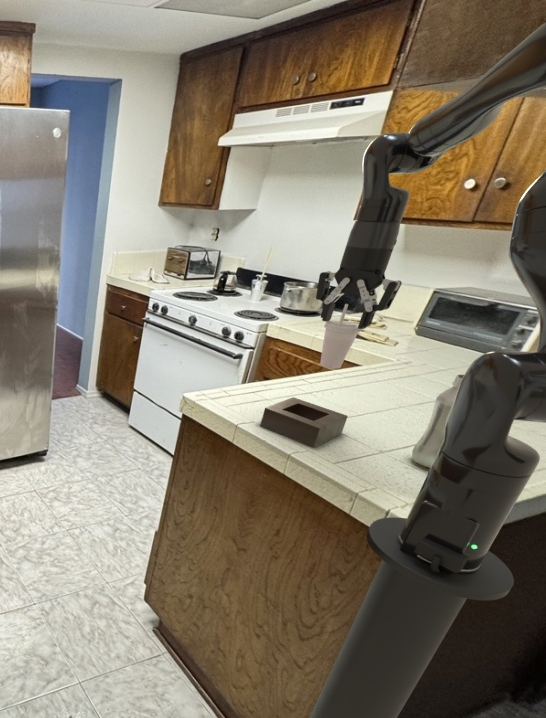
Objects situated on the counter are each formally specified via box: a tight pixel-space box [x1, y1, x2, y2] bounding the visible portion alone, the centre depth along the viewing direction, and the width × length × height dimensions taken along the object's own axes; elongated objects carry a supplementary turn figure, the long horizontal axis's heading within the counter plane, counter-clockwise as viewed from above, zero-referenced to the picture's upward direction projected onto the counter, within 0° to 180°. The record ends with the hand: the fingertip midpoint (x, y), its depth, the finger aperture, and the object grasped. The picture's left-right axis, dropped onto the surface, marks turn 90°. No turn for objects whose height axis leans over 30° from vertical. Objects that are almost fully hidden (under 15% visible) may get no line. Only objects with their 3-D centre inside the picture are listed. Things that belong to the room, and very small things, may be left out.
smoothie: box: [319, 303, 362, 370], centre depth 102 cm, size 6×6×14 cm
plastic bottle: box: [411, 374, 465, 469], centre depth 95 cm, size 6×7×20 cm
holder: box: [259, 396, 349, 448], centre depth 112 cm, size 12×12×5 cm
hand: (343, 324), depth 101 cm, fingers closed on smoothie, 6 cm apart
